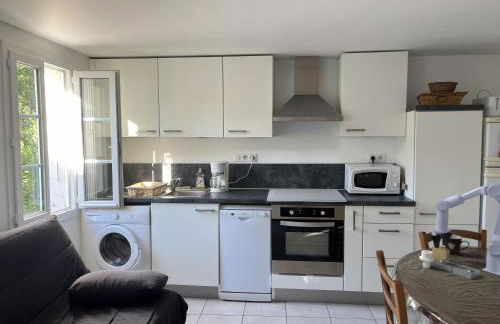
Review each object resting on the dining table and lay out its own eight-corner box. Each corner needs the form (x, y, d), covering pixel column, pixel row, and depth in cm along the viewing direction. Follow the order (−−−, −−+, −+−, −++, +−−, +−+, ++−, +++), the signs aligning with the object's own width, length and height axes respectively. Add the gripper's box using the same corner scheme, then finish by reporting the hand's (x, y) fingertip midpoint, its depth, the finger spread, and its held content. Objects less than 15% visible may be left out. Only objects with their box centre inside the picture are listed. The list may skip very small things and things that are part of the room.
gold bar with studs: (449, 262, 187) (449, 249, 186) (445, 263, 186) (446, 249, 185) (434, 257, 194) (435, 245, 193) (431, 258, 192) (432, 245, 192)
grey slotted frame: (479, 275, 169) (480, 269, 169) (470, 279, 165) (471, 272, 164) (443, 263, 184) (443, 258, 184) (434, 266, 180) (434, 260, 180)
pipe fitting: (430, 264, 183) (430, 249, 182) (435, 269, 176) (436, 254, 175) (417, 263, 184) (418, 249, 183) (422, 269, 177) (423, 253, 176)
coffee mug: (440, 252, 202) (441, 235, 201) (450, 250, 206) (451, 233, 205) (459, 258, 192) (460, 241, 191) (469, 256, 195) (470, 239, 194)
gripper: (442, 218, 195) (441, 242, 196) (426, 222, 188) (425, 246, 189) (455, 221, 189) (453, 246, 190) (439, 225, 182) (438, 250, 183)
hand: (440, 246), depth 189 cm, fingers open, 7 cm apart
